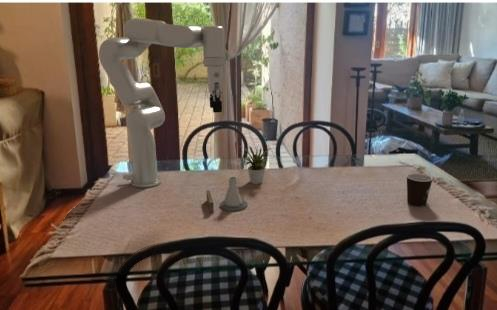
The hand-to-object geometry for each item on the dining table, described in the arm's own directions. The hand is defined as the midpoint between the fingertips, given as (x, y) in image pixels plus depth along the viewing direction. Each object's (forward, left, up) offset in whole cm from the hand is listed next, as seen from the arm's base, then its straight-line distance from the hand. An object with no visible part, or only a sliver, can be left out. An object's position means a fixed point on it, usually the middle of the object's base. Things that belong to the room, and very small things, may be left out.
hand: (215, 109), depth 156 cm
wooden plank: (-4, -11, -33) cm, 35 cm away
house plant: (+16, +11, -34) cm, 39 cm away
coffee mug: (+71, -24, -34) cm, 82 cm away
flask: (+4, -12, -33) cm, 35 cm away
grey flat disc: (+4, -12, -33) cm, 36 cm away
